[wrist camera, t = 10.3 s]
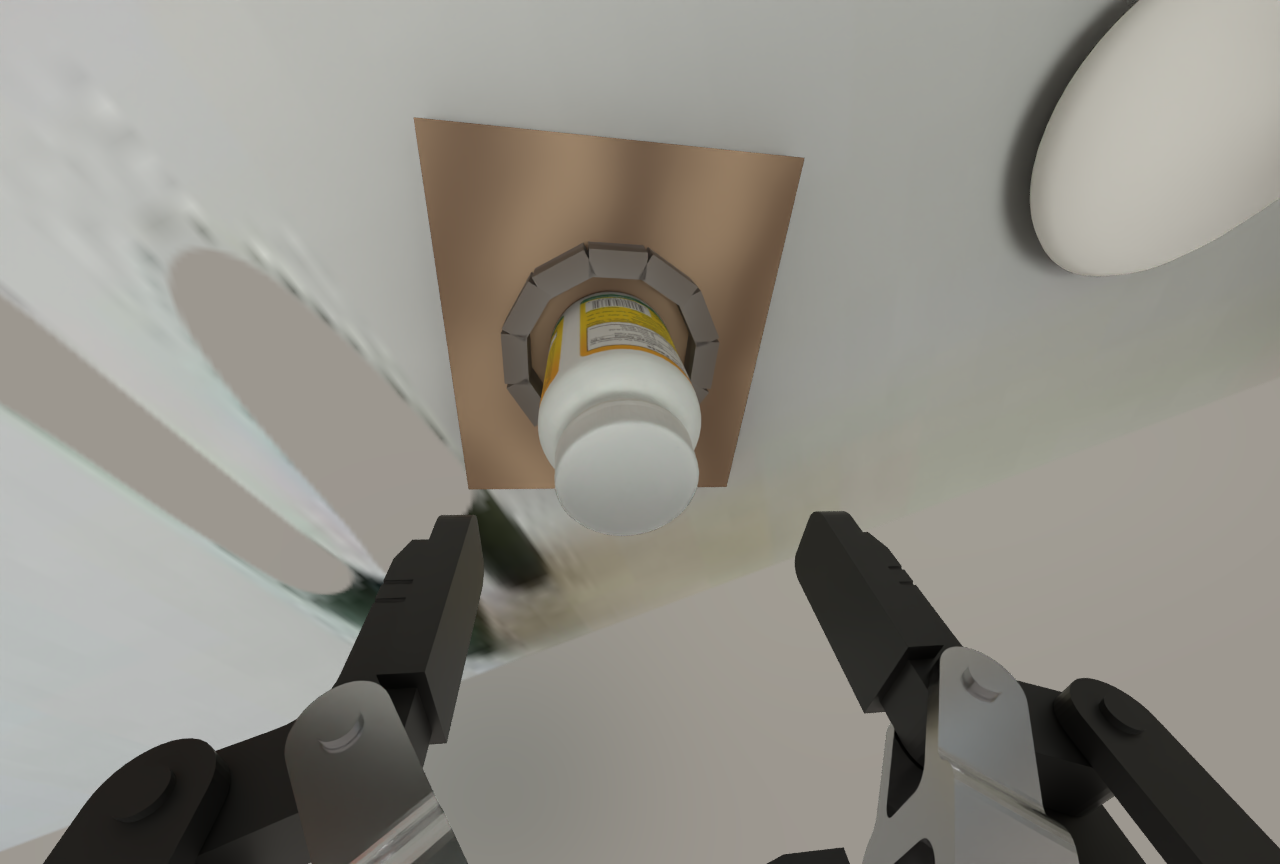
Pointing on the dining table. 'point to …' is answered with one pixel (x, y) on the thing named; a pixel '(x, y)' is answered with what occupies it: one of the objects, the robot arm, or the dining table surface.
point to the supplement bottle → (618, 417)
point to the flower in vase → (1162, 137)
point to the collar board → (596, 271)
